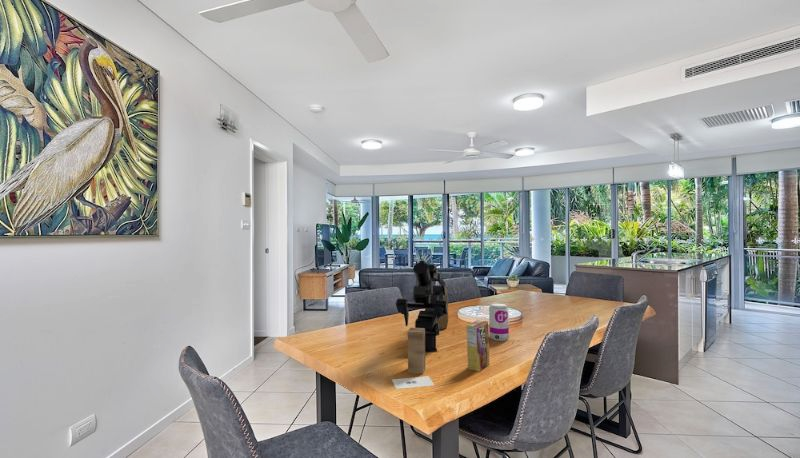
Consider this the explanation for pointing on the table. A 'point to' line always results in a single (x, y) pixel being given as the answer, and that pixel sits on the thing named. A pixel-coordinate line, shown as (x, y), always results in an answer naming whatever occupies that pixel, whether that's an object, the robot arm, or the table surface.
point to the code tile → (412, 382)
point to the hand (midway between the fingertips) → (419, 326)
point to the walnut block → (416, 350)
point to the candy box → (478, 345)
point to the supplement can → (498, 322)
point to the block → (443, 319)
